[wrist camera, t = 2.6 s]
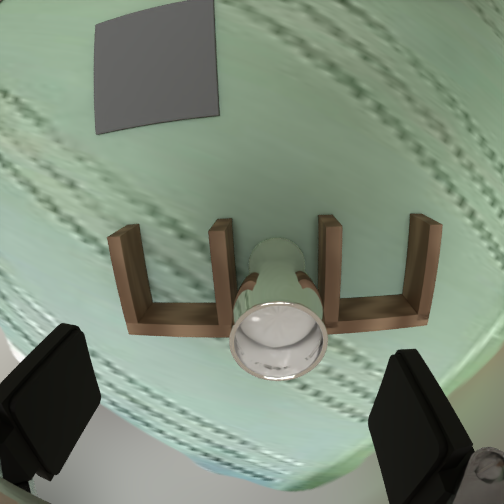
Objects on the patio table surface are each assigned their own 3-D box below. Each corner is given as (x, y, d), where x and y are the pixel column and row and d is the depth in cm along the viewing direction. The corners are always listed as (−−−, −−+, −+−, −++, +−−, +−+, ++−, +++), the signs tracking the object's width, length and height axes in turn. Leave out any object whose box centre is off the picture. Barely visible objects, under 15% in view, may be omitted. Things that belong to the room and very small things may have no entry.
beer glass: (231, 267, 35) (205, 347, 21) (273, 219, 33) (273, 276, 19) (279, 304, 36) (282, 397, 22) (322, 260, 34) (352, 338, 20)
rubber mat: (213, -2, 25) (212, -4, 25) (219, 115, 30) (218, 114, 29) (97, 26, 26) (95, 24, 26) (98, 134, 31) (95, 134, 30)
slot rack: (421, 213, 32) (442, 224, 27) (411, 304, 35) (427, 325, 30) (127, 224, 34) (107, 237, 29) (144, 313, 38) (129, 334, 33)
